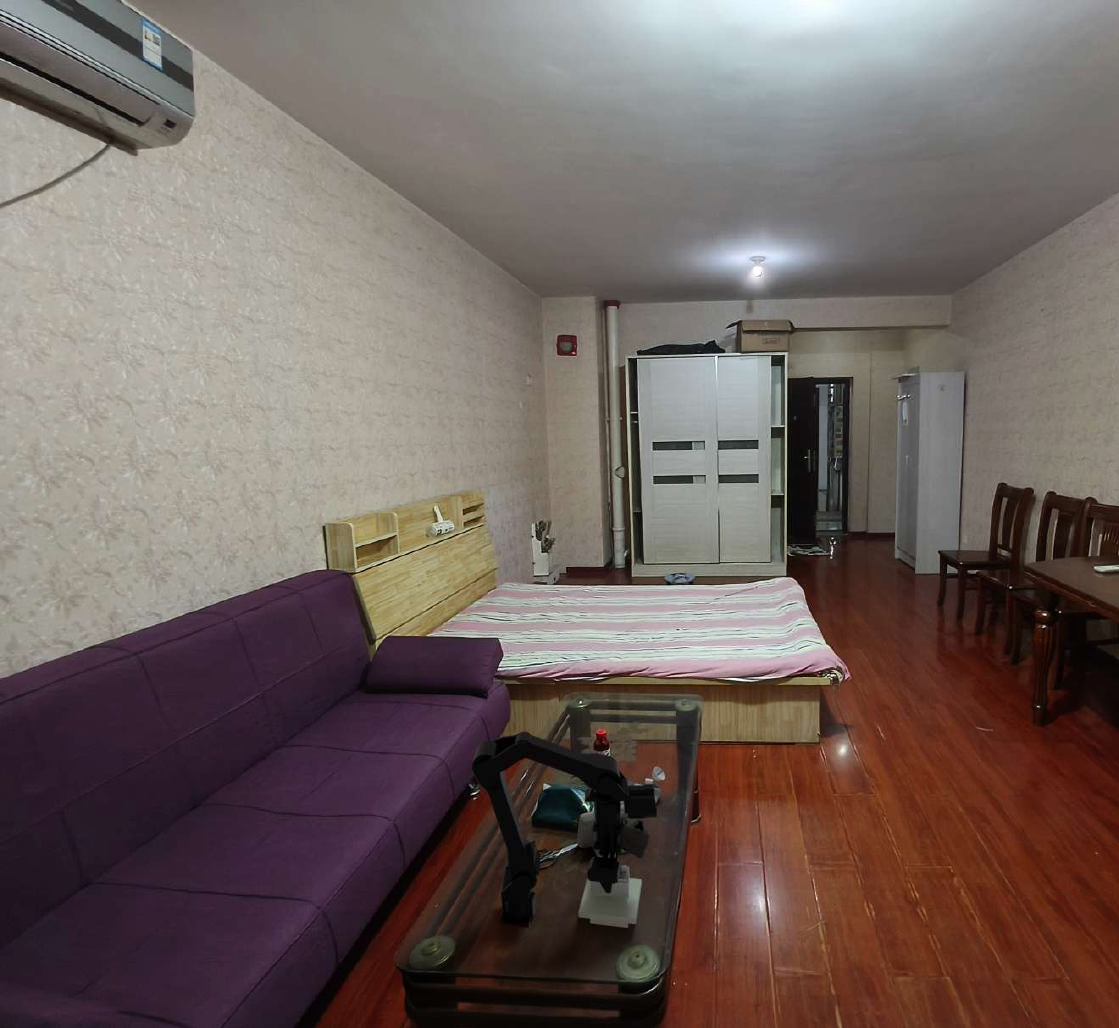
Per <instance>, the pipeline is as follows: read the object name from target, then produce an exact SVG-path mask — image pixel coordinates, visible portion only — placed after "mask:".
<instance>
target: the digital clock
mask: <svg viewBox="0 0 1119 1028" xmlns="http://www.w3.org/2000/svg"><path fill="white" fill-rule="evenodd" d="M579 816H580V817H579V819H578V825H577V826H578V828H577V837H576V844H577V846H578V847H579V848H581V849H586V848H592V849H593V851H594V854H595V856H596V857H603V856H599V851H600V850H595V849H594V841H595V832H593V824H594V810H593V811H587V812H585V813H582V814H580V815H579ZM621 816H623V818H625V819H626V820H627V821H628V825H630V823H631V824H633V823H634V822H635V821H636V820H638V819H630V818H628V813H627V814H624V805H621ZM623 853H627V852H626V851H624V850H623V849H622V854H623ZM618 855H621V854H620V853H618Z"/></svg>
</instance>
